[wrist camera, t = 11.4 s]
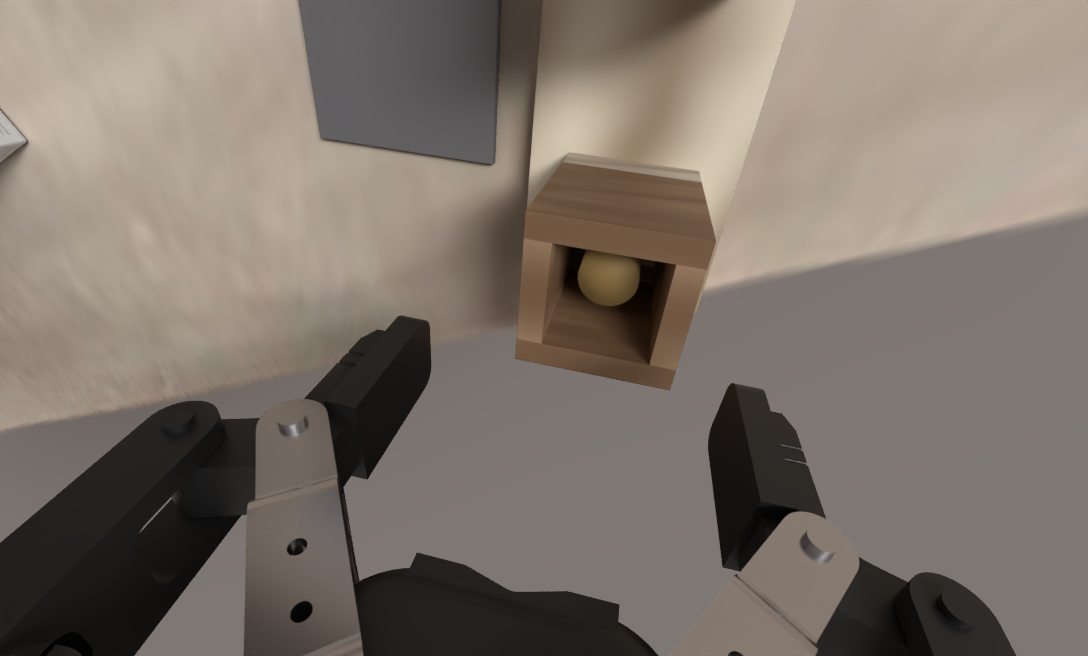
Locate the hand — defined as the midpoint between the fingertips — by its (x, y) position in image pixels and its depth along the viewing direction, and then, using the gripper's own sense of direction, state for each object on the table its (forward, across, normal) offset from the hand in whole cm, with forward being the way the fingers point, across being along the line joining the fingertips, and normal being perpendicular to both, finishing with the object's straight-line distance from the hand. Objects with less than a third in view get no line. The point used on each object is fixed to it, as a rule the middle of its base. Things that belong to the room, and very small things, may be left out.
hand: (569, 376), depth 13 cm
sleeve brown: (+12, -1, 0) cm, 12 cm away
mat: (+13, +10, -6) cm, 18 cm away
